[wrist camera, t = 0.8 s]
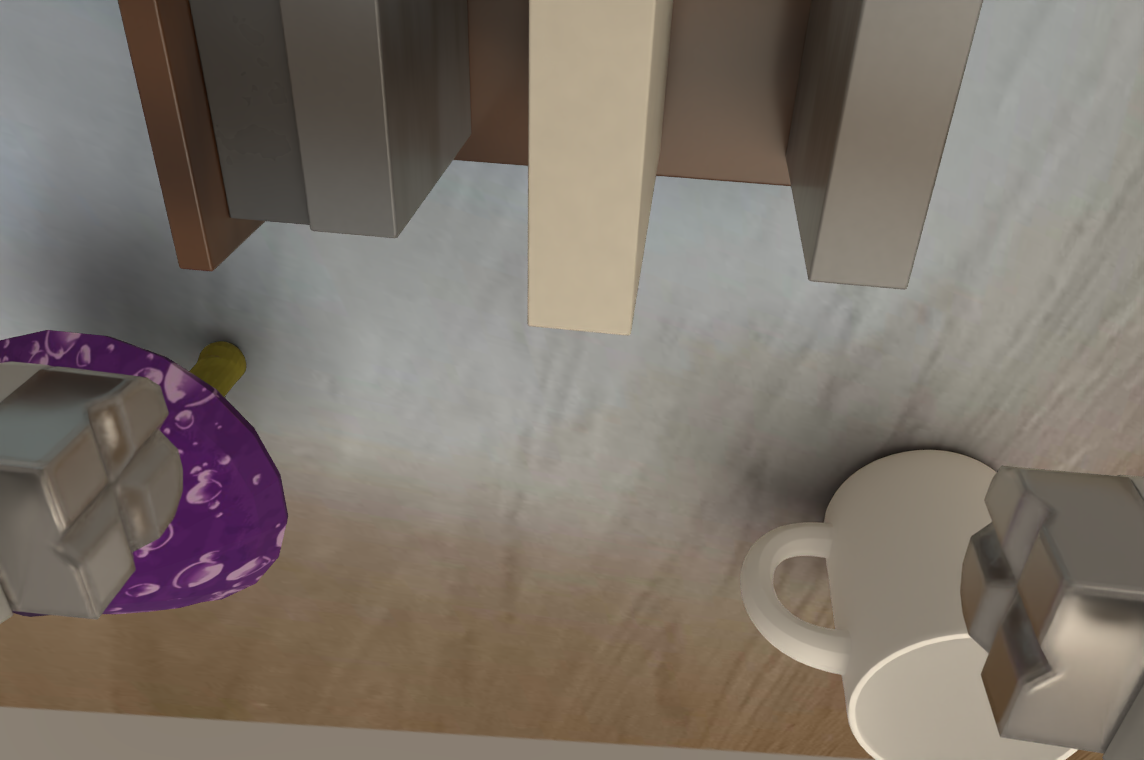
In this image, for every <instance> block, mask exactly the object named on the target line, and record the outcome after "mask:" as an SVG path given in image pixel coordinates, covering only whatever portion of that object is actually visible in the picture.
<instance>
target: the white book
mask: <svg viewBox="0 0 1144 760" xmlns="http://www.w3.org/2000/svg"><path fill="white" fill-rule="evenodd" d="M672 8H673V0H529V124H528V325H529V326H535V327H545V328H556V329H566V330H577V331H587V332H598V333H608V334H619V335H630V334H631V329H632V322H633V316H634V310H635V304H636V297H637V291H638V285H639V279H640V272H641V266H642V260H643V254H644V247H645V241H646V235H647V229H648V222H649V216H650V210H651V204H652V197H653V191H654V185H655V179H656V172H657V166H658V160H659V154H660V147H661V135H662V124H663V112H664V101H665V89H666V77H667V66H668V54H669V43H670V31H671V20H672Z"/></svg>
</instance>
